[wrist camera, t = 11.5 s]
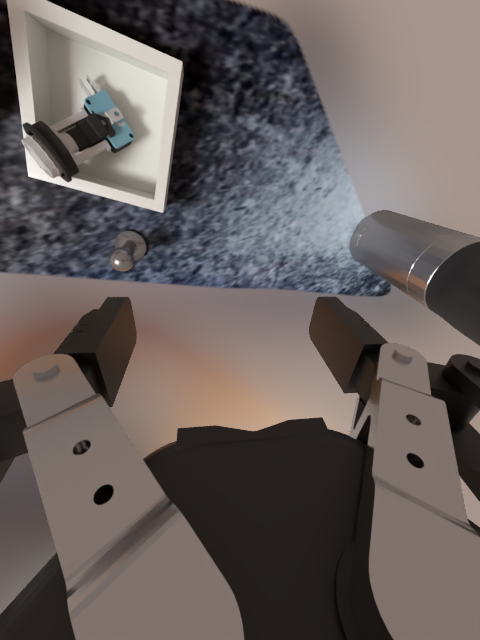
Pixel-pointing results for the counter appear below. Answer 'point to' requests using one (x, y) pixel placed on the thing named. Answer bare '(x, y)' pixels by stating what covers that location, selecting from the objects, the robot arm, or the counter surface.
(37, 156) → the push button
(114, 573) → the robot arm
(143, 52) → the bin
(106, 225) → the counter surface
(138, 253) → the ball stud post
